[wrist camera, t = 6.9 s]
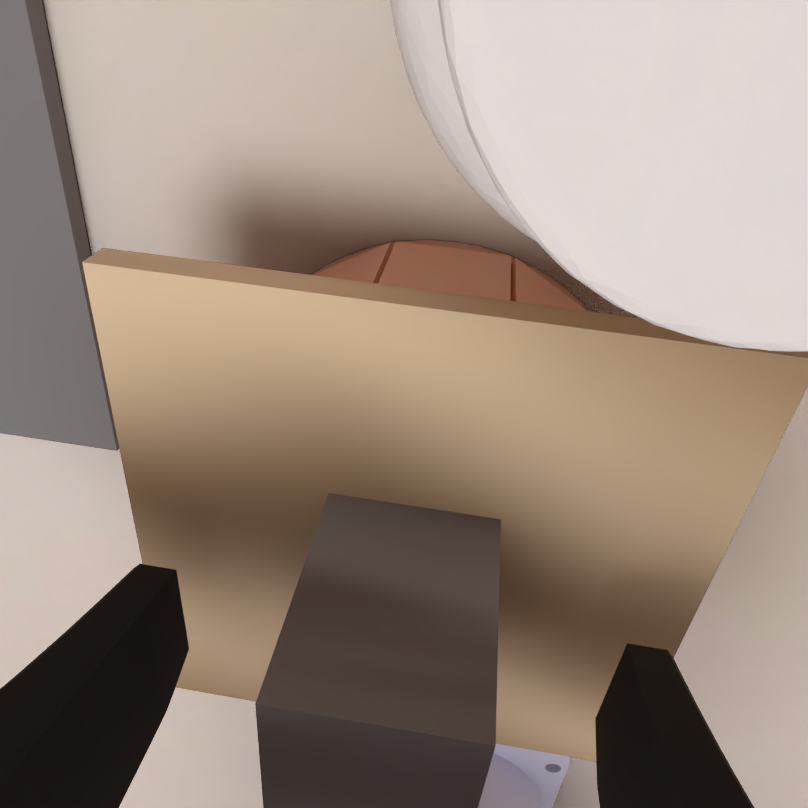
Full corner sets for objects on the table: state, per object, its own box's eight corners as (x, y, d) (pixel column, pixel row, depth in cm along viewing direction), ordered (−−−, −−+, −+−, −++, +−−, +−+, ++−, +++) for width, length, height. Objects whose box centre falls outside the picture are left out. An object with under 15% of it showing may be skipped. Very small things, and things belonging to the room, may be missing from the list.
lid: (616, 740, 15) (649, 993, 12) (177, 663, 16) (74, 879, 12) (804, 339, 10) (995, 586, 6) (103, 248, 10) (-138, 415, 7)
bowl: (577, 577, 18) (592, 713, 15) (258, 527, 19) (204, 647, 16) (679, 269, 13) (733, 371, 10) (239, 214, 14) (154, 293, 11)
